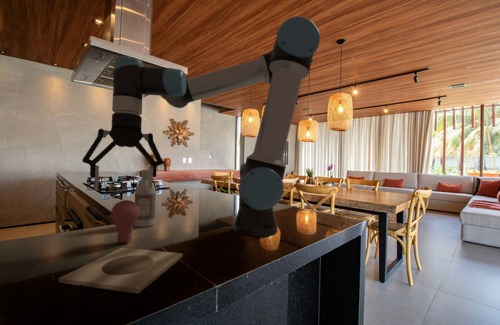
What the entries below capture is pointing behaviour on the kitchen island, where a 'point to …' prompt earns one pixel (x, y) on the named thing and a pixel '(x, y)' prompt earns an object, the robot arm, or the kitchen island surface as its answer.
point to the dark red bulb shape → (124, 219)
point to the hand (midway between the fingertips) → (124, 189)
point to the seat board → (123, 270)
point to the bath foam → (145, 202)
